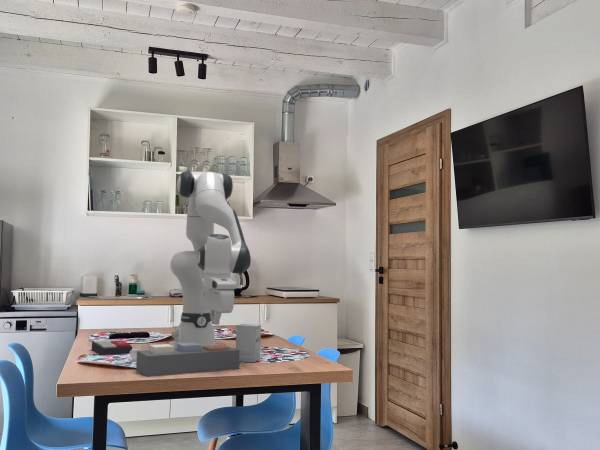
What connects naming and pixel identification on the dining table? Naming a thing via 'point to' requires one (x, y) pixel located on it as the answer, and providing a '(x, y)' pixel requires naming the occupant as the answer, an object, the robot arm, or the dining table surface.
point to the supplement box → (248, 342)
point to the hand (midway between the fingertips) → (215, 324)
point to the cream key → (161, 349)
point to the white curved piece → (133, 354)
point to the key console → (186, 361)
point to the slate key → (188, 347)
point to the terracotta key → (215, 347)
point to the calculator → (111, 347)
